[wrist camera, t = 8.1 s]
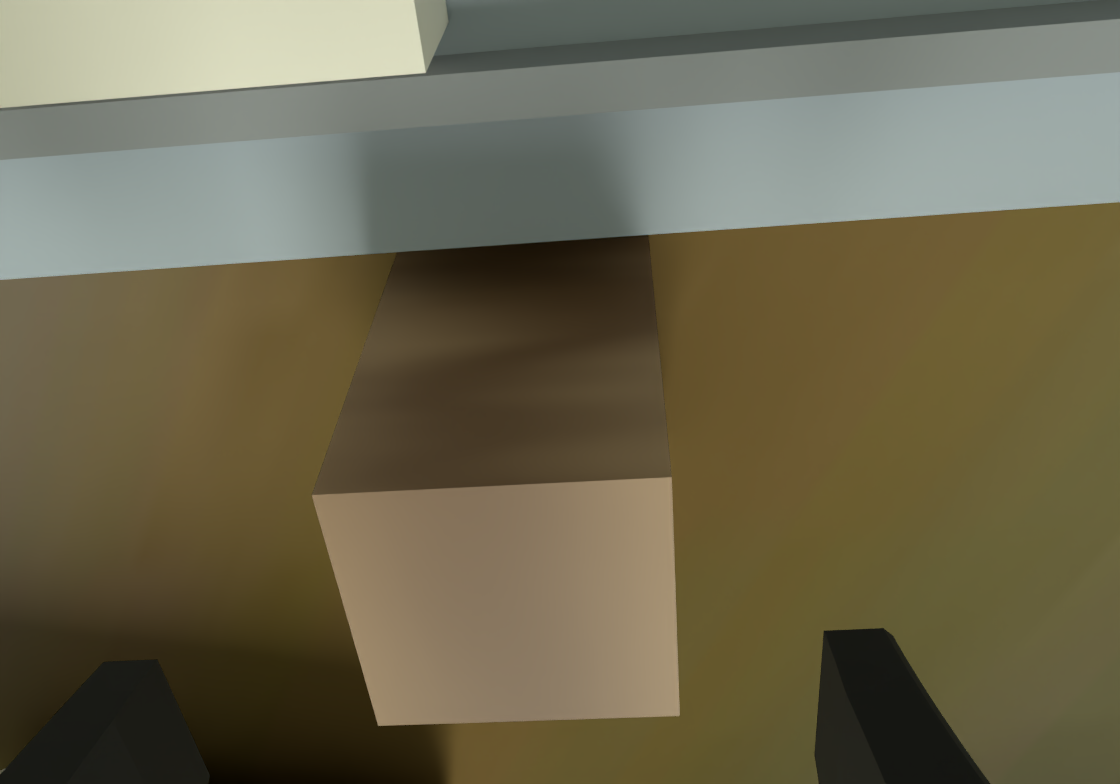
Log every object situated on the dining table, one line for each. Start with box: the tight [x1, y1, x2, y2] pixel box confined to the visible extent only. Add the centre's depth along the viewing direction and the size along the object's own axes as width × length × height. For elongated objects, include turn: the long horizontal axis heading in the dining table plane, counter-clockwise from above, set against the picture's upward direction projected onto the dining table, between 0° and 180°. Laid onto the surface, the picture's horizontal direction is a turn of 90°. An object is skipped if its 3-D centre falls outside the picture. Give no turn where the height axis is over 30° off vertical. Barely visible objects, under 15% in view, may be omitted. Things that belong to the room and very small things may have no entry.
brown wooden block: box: [312, 236, 680, 726], centre depth 15 cm, size 4×4×6 cm
